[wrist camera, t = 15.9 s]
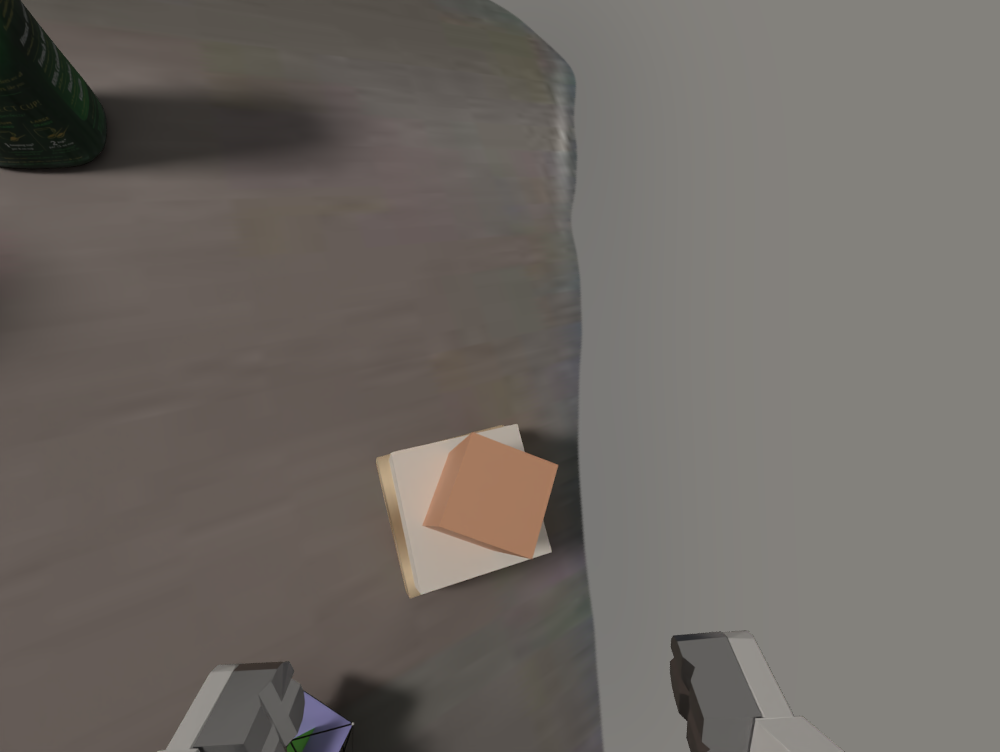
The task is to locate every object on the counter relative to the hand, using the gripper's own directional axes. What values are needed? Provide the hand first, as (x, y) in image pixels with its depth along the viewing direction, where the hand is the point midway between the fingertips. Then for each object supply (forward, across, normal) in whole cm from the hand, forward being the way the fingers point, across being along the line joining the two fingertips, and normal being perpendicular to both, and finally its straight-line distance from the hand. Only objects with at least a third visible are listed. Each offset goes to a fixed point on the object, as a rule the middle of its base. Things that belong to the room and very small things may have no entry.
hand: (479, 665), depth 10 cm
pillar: (+19, +3, +11) cm, 22 cm away
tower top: (+22, +4, +14) cm, 26 cm away
